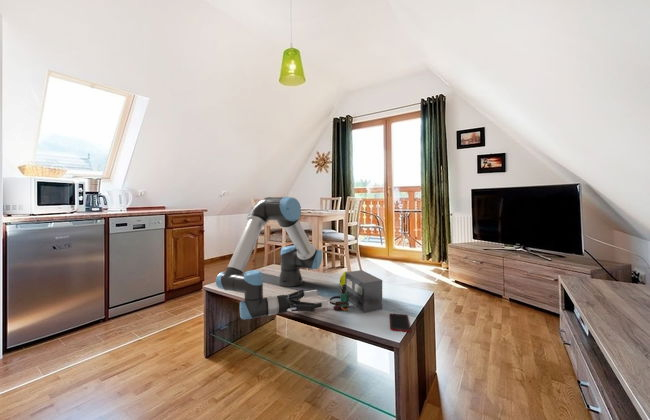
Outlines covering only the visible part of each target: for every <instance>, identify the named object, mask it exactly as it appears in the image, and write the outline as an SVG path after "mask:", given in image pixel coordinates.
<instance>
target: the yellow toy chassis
mask: <svg viewBox="0 0 650 420" xmlns="http://www.w3.org/2000/svg"><path fill="white" fill-rule="evenodd" d="M345 272H349V271H347V270H346V271H344V272H342V275H341V276H340V277H339V286H341V287H342V285H345Z"/></svg>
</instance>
